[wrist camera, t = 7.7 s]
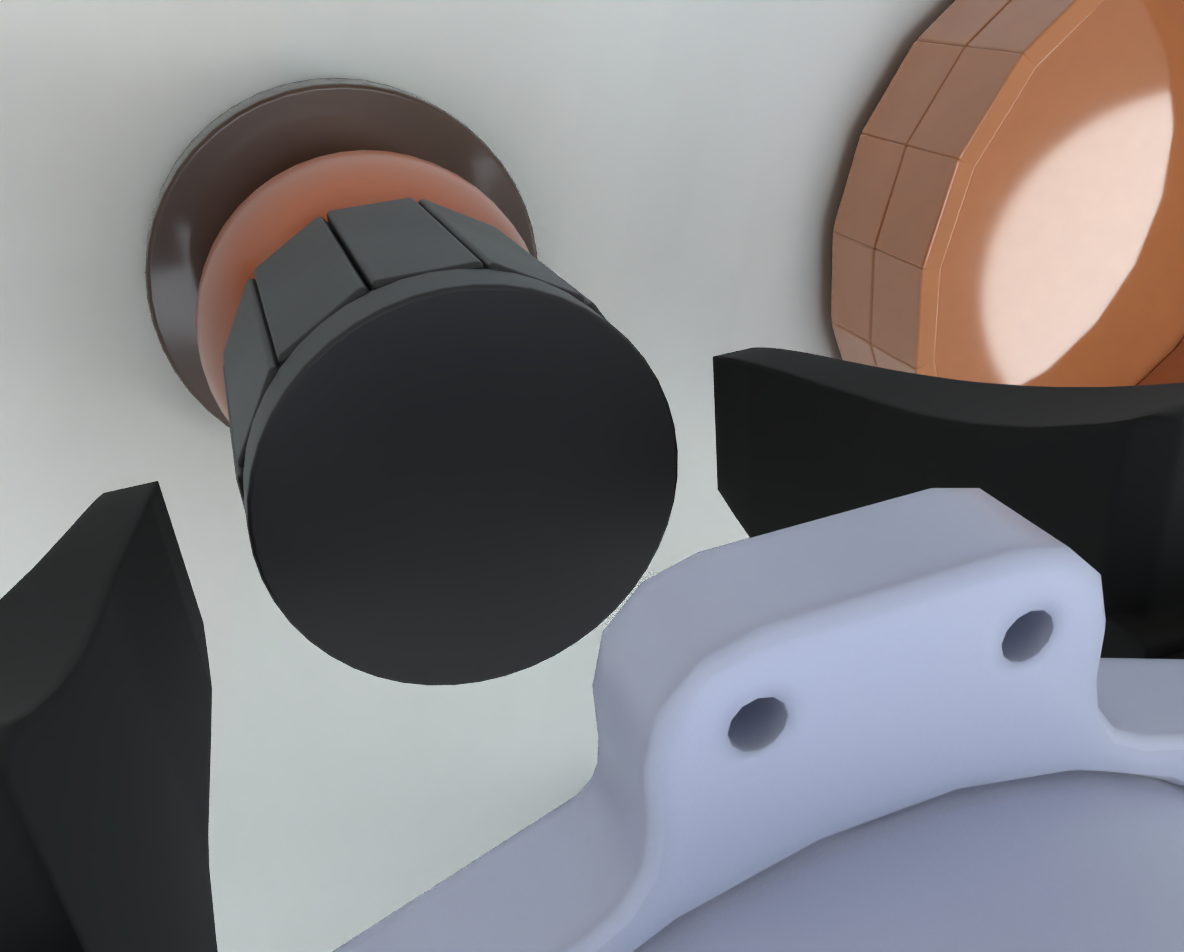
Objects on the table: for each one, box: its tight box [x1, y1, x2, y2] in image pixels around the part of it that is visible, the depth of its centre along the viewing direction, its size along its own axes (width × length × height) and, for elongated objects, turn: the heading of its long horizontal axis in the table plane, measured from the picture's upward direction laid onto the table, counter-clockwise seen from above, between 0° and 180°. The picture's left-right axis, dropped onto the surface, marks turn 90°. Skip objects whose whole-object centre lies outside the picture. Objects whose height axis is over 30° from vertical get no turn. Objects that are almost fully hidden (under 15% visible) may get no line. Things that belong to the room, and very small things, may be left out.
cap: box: [222, 198, 678, 685], centre depth 15 cm, size 5×5×5 cm
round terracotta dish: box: [831, 0, 1184, 387], centre depth 26 cm, size 14×14×4 cm
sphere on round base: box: [145, 78, 537, 428], centre depth 19 cm, size 8×8×7 cm
